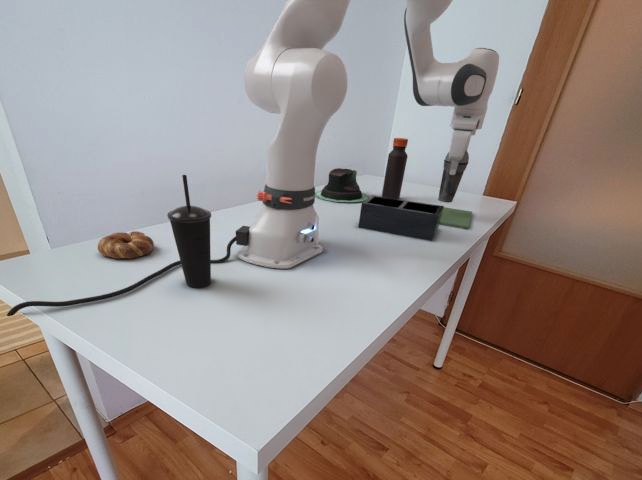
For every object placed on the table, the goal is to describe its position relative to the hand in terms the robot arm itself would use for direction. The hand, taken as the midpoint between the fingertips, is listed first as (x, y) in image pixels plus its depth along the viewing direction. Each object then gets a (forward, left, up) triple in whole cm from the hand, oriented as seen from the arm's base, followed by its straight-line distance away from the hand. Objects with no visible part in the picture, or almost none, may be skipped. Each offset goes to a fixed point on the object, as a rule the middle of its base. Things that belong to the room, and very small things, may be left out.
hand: (453, 172), depth 114 cm
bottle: (+14, +21, -14) cm, 29 cm away
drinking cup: (-81, +38, -14) cm, 90 cm away
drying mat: (0, 0, -14) cm, 14 cm away
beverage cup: (0, 0, -9) cm, 9 cm away
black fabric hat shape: (+6, +38, -14) cm, 41 cm away
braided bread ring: (-76, +62, -14) cm, 99 cm away
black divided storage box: (-22, +10, -14) cm, 28 cm away
